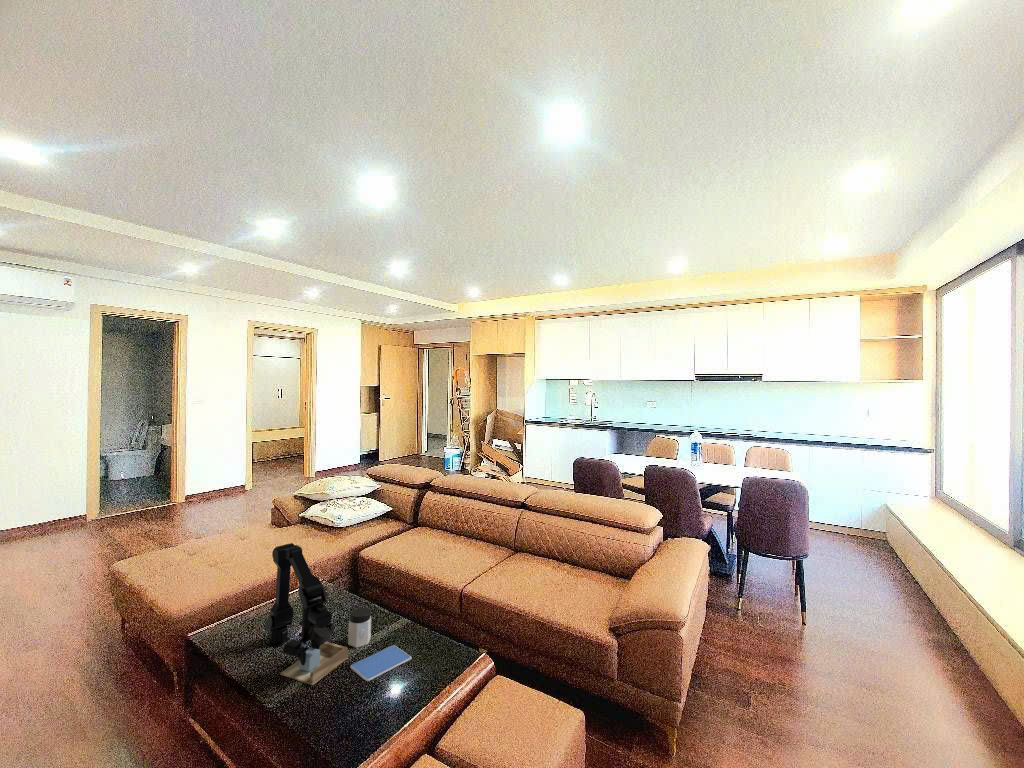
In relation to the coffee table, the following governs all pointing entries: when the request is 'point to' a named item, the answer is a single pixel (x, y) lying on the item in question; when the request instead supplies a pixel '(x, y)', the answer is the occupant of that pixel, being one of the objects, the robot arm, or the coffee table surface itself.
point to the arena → (328, 661)
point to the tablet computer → (380, 663)
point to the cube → (311, 659)
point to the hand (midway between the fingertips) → (308, 660)
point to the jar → (359, 627)
